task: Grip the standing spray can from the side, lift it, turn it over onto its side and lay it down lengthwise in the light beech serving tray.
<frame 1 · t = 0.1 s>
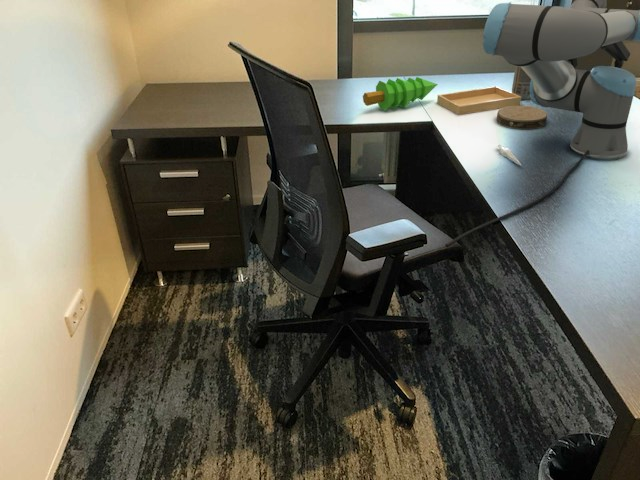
hand: (595, 70, 182), 15 cm above the table, tool tilted 35°, fingers open, 13 cm apart
tray: (478, 104, 206), on the table
brown wooden disc: (520, 121, 188), on the table
white toy shark: (509, 159, 162), on the table
spray can: (522, 97, 211), on the table
decorative tree: (402, 107, 208), on the table
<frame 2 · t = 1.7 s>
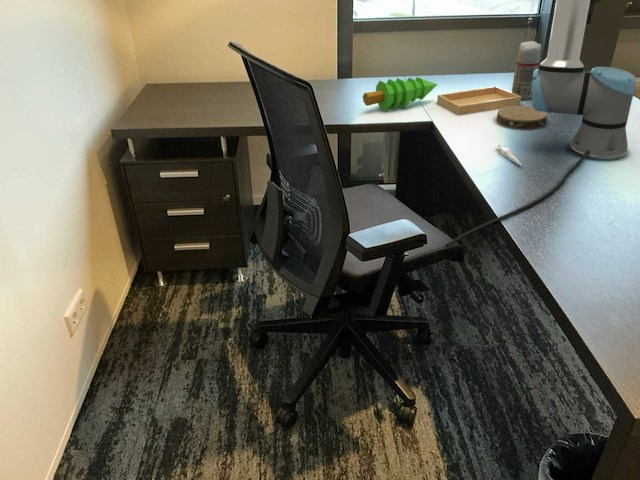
hand: (572, 21, 197), 27 cm above the table, tool pointing down, fingers open, 13 cm apart
nothing on the table moved.
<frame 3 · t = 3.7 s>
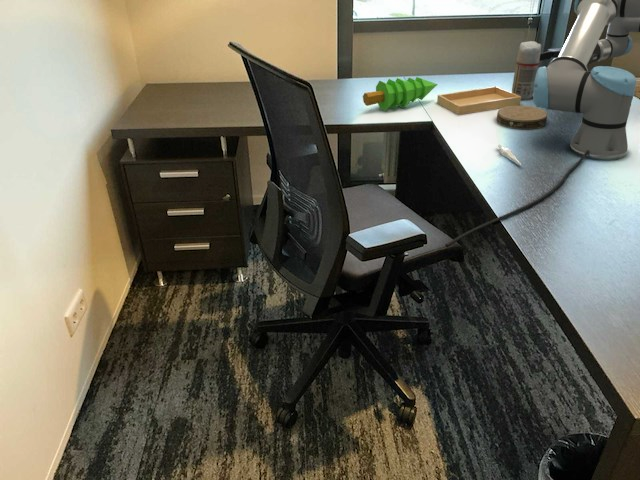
hand: (548, 61, 207), 12 cm above the table, tool horizontal, fingers open, 13 cm apart
nothing on the table moved.
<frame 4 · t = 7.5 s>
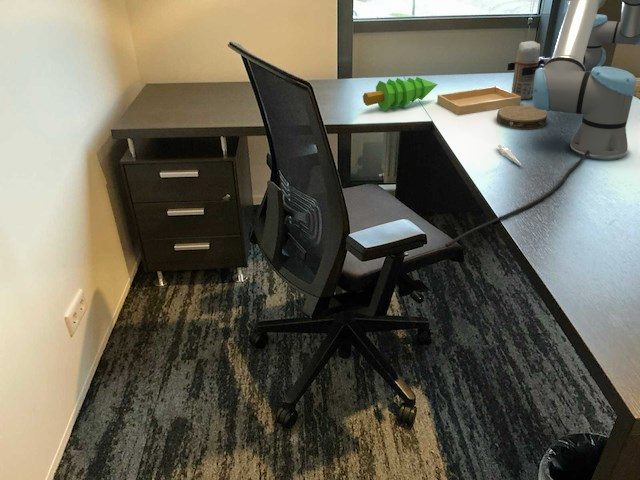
hand: (515, 69, 204), 11 cm above the table, tool horizontal, fingers closed on spray can, 8 cm apart
spray can: (522, 97, 211), on the table, touching gripper
everything else where it was.
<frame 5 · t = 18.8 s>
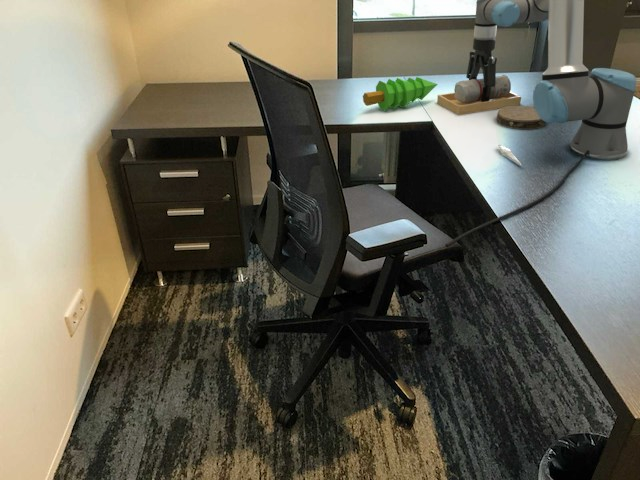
hand: (478, 101, 206), 1 cm above the table, tool pointing down, fingers closed on spray can, 8 cm apart
spray can: (505, 85, 206), point 5 cm above the table, touching gripper
everything else where it was.
when the fingers open (2 cm above the table, at t = 26.9 s): spray can drops 2 cm, resting on tray.
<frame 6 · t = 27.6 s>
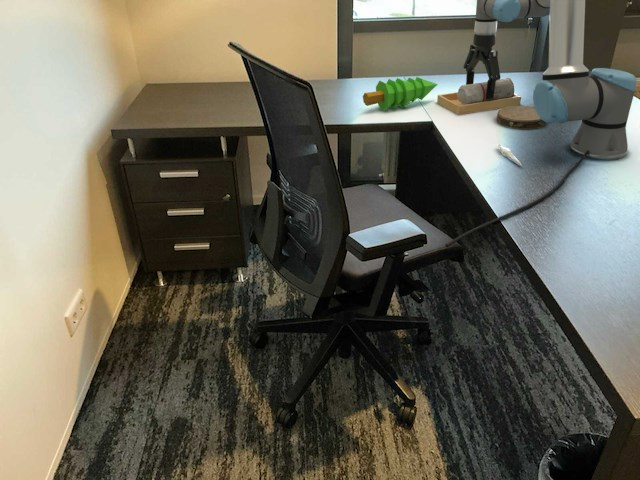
hand: (479, 93, 204), 4 cm above the table, tool pointing down, fingers open, 13 cm apart
spray can: (509, 89, 205), point 5 cm above the table, touching gripper, tray
everything else where it was.
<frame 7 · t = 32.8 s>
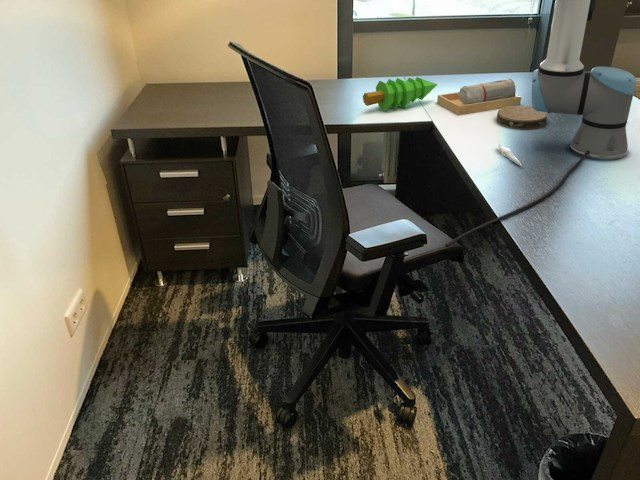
hand: (572, 17, 192), 29 cm above the table, tool pointing down, fingers open, 13 cm apart
spray can: (510, 89, 204), point 5 cm above the table, touching tray
everything else where it was.
at the end: spray can tilted 90°; spray can touching tray; spray can inside the target area on the tray (11.6 cm from its centre), point 4.6 cm above the tray's base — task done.
